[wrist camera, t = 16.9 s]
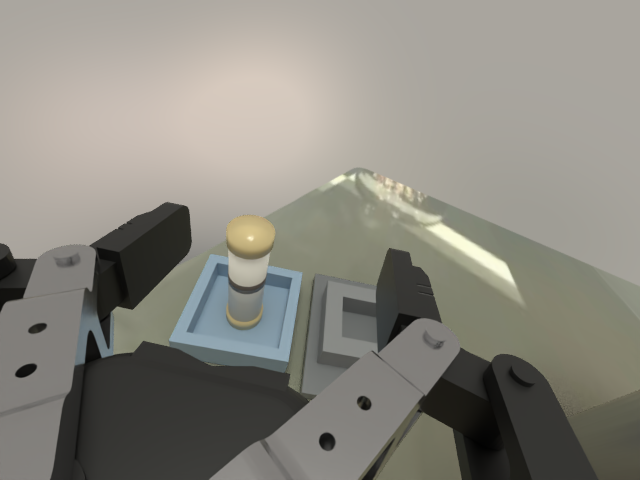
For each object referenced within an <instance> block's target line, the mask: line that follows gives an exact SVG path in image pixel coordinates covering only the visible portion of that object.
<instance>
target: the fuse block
mask: <svg viewBox="0 0 640 480" xmlns="http://www.w3.org/2000/svg"><path fill="white" fill-rule="evenodd" d="M376 288H377V286H374V285H369V284H364V283H360V282H355V281H350V280H345V279H340V278H335V277H330V276H325V275H320V274H315V277H314V280H313V288H312V297H311V305H310V313H309V321H308V330H307V338H306V346H305V354H304V362H303V371H302V379H301V387H300V394H301V395H302V396H303V397H305V398H306V399H311V400H313V399H314V398H315V397H316V396H317V395H318V394H319V393H321V392H322V391H323V390H324V389H325V388H326V387H328V386H329V385H330V384H331V383H332V382H333V381H335V380H336V379H337V378H338V377H339V376H340V375H341V374H343V373H344V372H345V371H346V370H347V369H348V368H350V367H351V366H352V365H353V364H354V363H355V362H357V361H358V360H359V359H360V358H361V357H362V356H363V355H365V354H366V353H367V352H369V351H374V352H375V353H376V354H378V348H377V319H376Z"/></svg>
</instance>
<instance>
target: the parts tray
mask: <svg viewBox="0 0 640 480" xmlns="http://www.w3.org/2000/svg"><path fill="white" fill-rule="evenodd" d="M228 264H229V257H224V256H219V255H214V254H211V255H210V257H209V259H208V261H207V263H206V265H205V267H204V269H203V271H202V273H201V275H200V277H199V279H198V282H197V284H196V286H195V288H194V290H193V292H192V294H191V296H190V298H189V300H188V302H187V304H186V306H185V308H184V310H183V313H182V315H181V317H180V319H179V321H178V323H177V325H176V327H175V329H174V331H173V333H172V335H171V337H170V339H169V344H170V347H172V348H177V349H180V350H182V351H183V352H185V353H187V354H189V355H191V356H193V357H195V358H197V359H198V360H200V361H203V362H209V363H215V364H221V365H227V366H256V367H260V368H265V369H269V370H273V371H278V372H282V373H285V370H286V367H287V364H288V361H289V355H290V348H291V342H292V336H293V329H294V323H295V317H296V311H297V304H298V298H299V292H300V286H301V279H302V272H297V271H292V270H287V269H282V268H278V267H273V266H268V268H267V277H266V283H265V288H264V295H263V302H262V303H263V313H262V318H261V321H260V322H259V324H258V325H257V326H255V327H254V328H252V329H249V330H238V329H235V328H233V327H232V326H231V325H230V324H229V323H228V321H227V318H226V306H227V303H228Z"/></svg>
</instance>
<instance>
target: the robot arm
mask: <svg viewBox="0 0 640 480" xmlns="http://www.w3.org/2000/svg"><path fill="white" fill-rule="evenodd" d="M191 242H192V240H191V228H190V214H189V209H188V207H187V206H184V205H179V204H174V203H168V202H166V203H164V204H162V205H161V206H159V207H158V208H156V209H154V210H153V211H151V212H148V213H144V214H141V215H138V216H136V217H134V218H133V219H131V220H130V221H128V222H127V224H123V225H122V226H120V227H119V228H118V229H115V230H114V231H112V232H110V233H109V234H107V235H106V236H104V237H102V238H101V239H99V240H98V241H96V242H94V243H93V244H91V245H90V246H86V245H67V246H61V247H58V248H54V249H52V250H49V251H47V252H45V253H44V254H42V255H41V256H40V257H39V258H38V259H14V258H13V256H12V253H11V251H10V249H9V247H8V246H6V245H4V244H1V243H0V480H376V478H377V477H378V476H379V474H380V473H381V471H382V470H383V468H384V466H385V465H386V463H387V462H388V460H389V459H390V457H391V456H392V454H393V453H394V452H395V450H396V449H397V448H398V446H399V445H400V443H401V442H402V441H403V439H404V438H405V437H406V435H407V434H408V432H409V431H410V430H411V428H412V427H413V426H414V424H415V423H416V422H417V420H418V419H419V417H420V416H421V415H422V413H423V412H424V413H426V414H427V415H429V416H431V417H433V418H435V419H436V420H438V421H440V422H442V423H444V424H445V425H447V426H449V427H451V428H453V433H454V438H455V444H456V449H457V455H458V460H459V466H460V471H461V477H462V480H640V390H638V391H635V392H633V393H630V394H628V395H625V396H622V397H620V398H617V399H614V400H612V401H609V402H606V403H604V404H601V405H598V406H596V407H593V408H590V409H588V410H585V411H583V412H580V413H577V414H575V415H572V416H569V417H566V416H565V414H564V412H563V410H562V408H561V406H560V404H559V402H558V400H557V398H556V396H555V394H554V392H553V391H552V389H551V387H550V385H549V383H548V381H547V380H546V379H545V377H544V376H543V375H542V374H541V373H540V372H539V371H538V370H537V369H536V368H535V367H533V366H532V365H531V364H529V363H528V362H526V361H524V360H522V359H521V358H518V357H516V356H513V355H508V354H499V355H497V356H495V357H494V359H493V360H492V361H491V362H489V361H486V360H484V359H482V358H480V357H478V356H476V355H474V354H471V353H469V352H467V351H465V350H464V349H462V348H461V347H460V343H459V340H458V338H457V337H456V335H455V334H454V333H453V332H452V331H451V330H450V329H449V328H448V327H446V326H445V325H443V324H442V322H441V318H440V315H439V311H438V308H437V305H436V301H435V298H434V296H433V295H434V294H433V291H432V288H431V284H430V281H429V277H428V276H427V275H426V274H425V272H424V271H423V270H422V269H421V268H420V267H415V266H412V262H411V257H410V253H409V252H406V251H401V250H396V249H391V248H389V250H388V252H387V254H386V257H385V260H384V264H383V267H382V270H381V273H380V276H379V279H378V283H377V288H376V319H377V348H378V354H376V353H375V352H374V351H369V352H367V353H366V354H365V355H363V356H362V357H361V358H360V359H359V360H358V361H357V362H355V363H354V364H353V365H352V366H351V367H350V368H348V369H347V370H346V371H345V372H344V373H343V374H341V375H340V376H339V377H338V378H337V379H336V380H335V381H333V382H332V383H331V384H330V385H329V386H328V387H326V388H325V389H324V390H323V391H322V392H321V393H319V394H318V395H317V396H316V397H315V398H314V399H313V400H311V401H310V402H309V401H308V400H307V399H306V398H305V397H303V396H302V395H301V394H299V393H298V392H297V391H295V390H293V389H292V388H290V387H288V384H289V378H290V374H287V373H282V372H278V371H273V370H269V369H265V368H260V367H256V366H210V365H208V364H206V363H204V362H202V361H200V360H198V359H197V358H195V357H193V356H191V355H189V354H187V353H185V352H183V351H182V350H180V349H177V348H172V347H168V346H163V345H159V344H154V343H150V342H146V341H143V342H142V343H141V344H140V346H139V347H138V348H137V349H136V350H135V352H134V353H123V354H116V355H113V342H114V315H113V312H112V311H113V310H114V309H115V308H116V307H117V306H118V307H122V308H127V309H131V310H133V309H134V308H135V307H136V306H137V305H138V304H139V303H140V302H141V301H142V300H143V299H144V298H145V297H146V296H147V295H148V294H149V293H150V292H151V291H152V290H153V289H154V288H155V287H156V286H157V285H158V283H159V282H160V281H161V280H162V279H163V278H164V277H165V276H166V275H167V274H168V273H169V272H170V271H171V270H172V269H173V268H174V267H175V266H176V265H177V264H178V263H179V262H180V261H181V260H182V259H183V258H184V257H185V256H186V255H187V254H188V252H189V250H190V247H191Z"/></svg>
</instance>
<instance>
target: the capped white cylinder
mask: <svg viewBox="0 0 640 480" xmlns="http://www.w3.org/2000/svg"><path fill="white" fill-rule="evenodd" d="M226 231H227V232H226V244H227V247H228V249H229V264H228V303H227V306H226V318H227V321H228V323H229V324H230V325H231V326H232V327H233V328H235V329H238V330H249V329H252V328H254V327H255V326H257V325H258V324H259V322H260V321H261V318H262V313H263V303H262V302H263V295H264V288H265V283H266V277H267V268H268V262H269V255H270V252H271V250H272V248H273V243H274V237H275V229H274V227H273V225H272V224H271V223H270V222H269V221H268V220H266V219H265V218H262V217H259V216H255V215H243V216H239V217H236V218H234V219H233V220H232V221H230V222H229V224H228V225H227V230H226Z"/></svg>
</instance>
